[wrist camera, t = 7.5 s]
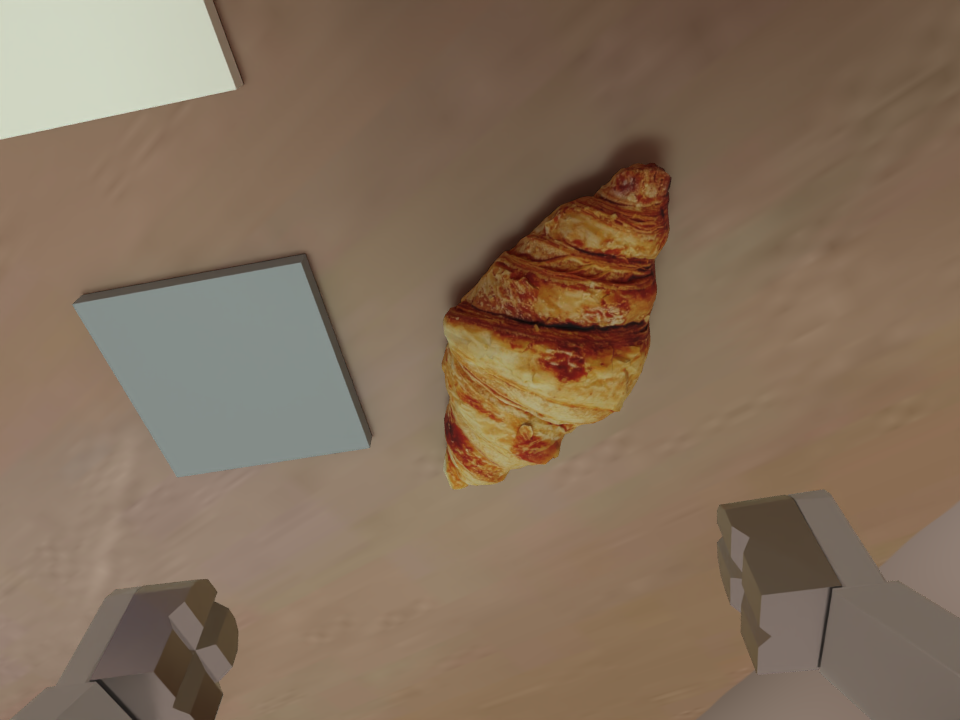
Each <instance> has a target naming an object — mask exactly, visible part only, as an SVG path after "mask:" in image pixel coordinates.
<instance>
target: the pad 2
mask: <svg viewBox="0 0 960 720" xmlns="http://www.w3.org/2000/svg"><path fill="white" fill-rule="evenodd" d="M72 305H73V307H74V308H75V310H76V312H77V313H78V315H79V316H80V318H81V320H82V321H83V323H84V325H85V326H86V328H87V330H88V331H89V333H90V335H91V336H92V338H93V340H94V341H95V343H96V344H97V346H98V348H99V349H100V351H101V353H102V354H103V356H104V358H105V359H106V361H107V363H108V364H109V366H110V368H111V369H112V371H113V372H114V374H115V376H116V377H117V379H118V381H119V382H120V384H121V386H122V387H123V389H124V391H125V392H126V394H127V396H128V397H129V399H130V400H131V402H132V404H133V405H134V407H135V409H136V410H137V412H138V414H139V415H140V417H141V419H142V420H143V422H144V424H145V425H146V427H147V428H148V430H149V432H150V433H151V435H152V437H153V438H154V440H155V442H156V443H157V445H158V447H159V448H160V450H161V452H162V453H163V455H164V456H165V458H166V460H167V461H168V463H169V465H170V466H171V468H172V470H173V471H174V473H175V475H176V476H177V477H183V476H189V475H196V474H203V473H209V472H216V471H222V470H229V469H235V468H242V467H248V466H255V465H261V464H268V463H274V462H281V461H287V460H294V459H300V458H307V457H313V456H320V455H327V454H333V453H340V452H346V451H353V450H359V449H366V448H370V445H371V440H372V435H371V432H370V430H369V427H368V424H367V421H366V419H365V416H364V413H363V410H362V408H361V405H360V402H359V400H358V397H357V394H356V391H355V389H354V386H353V383H352V380H351V378H350V375H349V372H348V369H347V367H346V364H345V361H344V358H343V356H342V353H341V350H340V347H339V345H338V342H337V339H336V337H335V334H334V331H333V328H332V326H331V323H330V320H329V317H328V315H327V312H326V309H325V306H324V304H323V301H322V298H321V295H320V293H319V290H318V287H317V285H316V282H315V279H314V276H313V274H312V271H311V268H310V265H309V263H308V260H307V257H306V254H302V255H297V256H292V257H286V258H281V259H275V260H270V261H264V262H259V263H254V264H248V265H243V266H237V267H232V268H227V269H221V270H216V271H210V272H205V273H199V274H194V275H189V276H183V277H178V278H172V279H167V280H161V281H156V282H151V283H145V284H140V285H134V286H129V287H124V288H118V289H113V290H107V291H102V292H96V293H91V294H86V295H82V296H81V297H80V298H79V299H77V300H76V301H75V302H74V303H73V304H72Z"/></svg>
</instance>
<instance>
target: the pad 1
mask: <svg viewBox="0 0 960 720" xmlns="http://www.w3.org/2000/svg"><path fill="white" fill-rule="evenodd" d="M241 86H243V82H242V79H241V76H240V74H239V71H238V68H237V65H236V63H235V60H234V57H233V55H232V52H231V49H230V46H229V44H228V41H227V38H226V35H225V33H224V30H223V27H222V24H221V22H220V19H219V16H218V13H217V11H216V8H215V5H214V3H213V0H0V139H5V138H10V137H14V136H19V135H24V134H29V133H33V132H38V131H43V130H47V129H52V128H57V127H62V126H66V125H71V124H76V123H80V122H85V121H90V120H95V119H99V118H104V117H109V116H113V115H118V114H123V113H128V112H132V111H137V110H142V109H147V108H151V107H156V106H161V105H165V104H170V103H175V102H180V101H184V100H189V99H194V98H198V97H203V96H208V95H213V94H217V93H222V92H227V91H231V90H236V89H238V88H239V87H241Z"/></svg>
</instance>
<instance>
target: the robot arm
mask: <svg viewBox="0 0 960 720" xmlns="http://www.w3.org/2000/svg"><path fill="white" fill-rule="evenodd" d="M717 524H718V526H719V529H720V531H721V534H722V537H721V539H720V540H719V541H718V542H717V555H718V563H719V569H720V574H721V578H722V582H723V585H724V588H725V591H726V594H727V597H728V600H729V602H730V605H731V606H733V607H734V608H735V609H737V610H738V611H739V612H740V613H741V634H742V637H743V640H744V642H745V645H746V647H747V650H748V653H749V655H750V658H751V660H752V663H753V665H754V668H755V671H756V673H757V675H761V674H773V673H785V672H796V671H808V670H819V669H820V673H821V674H822V675H823V676H824V677H825V678H826V679H827V680H828V681H829V682H830V683H832V684H833V685H834V686H835V687H836V688H837V689H838V690H839V691H840V692H841V693H842V694H844V695H845V696H846V697H847V698H848V699H849V700H850V701H851V702H852V703H854V704H855V705H856V706H857V707H858V708H859V709H860V710H861V711H862V712H863V713H865V714H866V715H867V716H868V717H869V718H870V719H871V720H960V618H959V617H957V616H955V615H954V614H952V613H951V612H949V611H947V610H946V609H944V608H942V607H941V606H939V605H937V604H936V603H934V602H932V601H931V600H929V599H927V598H926V597H924V596H923V595H921V594H919V593H918V592H916V591H914V590H913V589H911V588H909V587H908V586H906V585H904V584H903V583H901V582H899V581H890V582H889V581H888V582H887V581H886V580H885V578H884V577H883V575H882V574H881V573H880V570H879V569H878V567H877V566H876V564H875V563H874V561H873V560H872V558H871V556H870V555H869V553H868V552H867V550H866V549H865V547H864V545H863V544H862V542H861V541H860V539H859V538H858V536H857V534H856V533H855V531H854V530H853V528H852V527H851V525H850V524H849V522H848V520H847V519H846V517H845V516H844V514H843V513H842V511H841V509H840V508H839V506H838V505H837V503H836V502H835V500H834V498H833V497H832V495H831V494H830V493H828V492H827V491H826V490H817V491H810V492H803V493H796V494H789V495H780V496H773V497H767V498H760V499H754V500H747V501H741V502H734V503H728V504H721V505H719V507H718V510H717ZM216 594H217V591H216V589H215V588H214V587H213V585H212V584H211V583H210V581H209V580H208V579H200V580H190V581H181V582H173V583H164V584H155V585H146V586H140V587H132V588H124V589H116V590H114V591H113V592H112V593H111V594H109V595H108V596H107V597H106V598H105V599H104V601H103V603H102V605H101V606H100V608H99V610H98V612H97V614H96V615H95V617H94V619H93V621H92V622H91V624H90V626H89V628H88V629H87V631H86V633H85V635H84V637H83V638H82V640H81V642H80V644H79V645H78V647H77V649H76V651H75V652H74V654H73V656H72V658H71V660H70V661H69V663H68V665H67V667H66V668H65V670H64V672H63V674H62V676H61V677H60V679H59V681H58V683H57V684H56V686H53V687H47V688H45V689H44V690H43V691H42V692H41V693H40V694H39V695H37V696H36V697H35V698H34V699H33V700H32V701H31V702H29V703H28V704H27V705H26V706H25V707H24V708H23V709H22V710H20V711H19V712H18V713H17V714H16V715H15V716H14V717H12V718H11V719H10V720H215V717H216V714H217V711H218V708H219V705H220V703H221V700H222V697H223V692H222V690H221V687H220V684H219V681H220V680H221V679H222V678H223V677H224V676H225V675H226V673H227V672H228V671H229V670H230V669H231V668H232V667H233V663H234V660H235V657H236V654H237V650H238V628H237V624H236V620H235V618H234V616H233V614H232V613H231V611H230V610H229V609H228V608H227V607H225V606H223V605H221V604H219V603H217V602H215V601H214V600H215V597H216Z"/></svg>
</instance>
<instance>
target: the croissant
mask: <svg viewBox="0 0 960 720" xmlns="http://www.w3.org/2000/svg"><path fill="white" fill-rule="evenodd" d="M670 184H671V177H670V176H669V174H668V173H666V172H665V170H664V169H663V168H660V167H658V166H657V165H656V164H655V163H649V164H647V165H644V164H640V163H638V164H633V165H631V166H630V167H628V168H622V169H620V170H619V171H618V172H617V173H616V174H615V175H614V176H613V177H612V179H611V181H609V182H608V183H607V184H606V185H602V187H601V188H600V189H599V190H598V191H597V192H596V194H595V195H594V196H593V197H592V196H585V197H581V198H578V199H576V200H574V201H571V202H568V203H565V204H562V205H560V206H559V207H558V208H557V209H556V210H554V211H553V212H552V213H551V214H550V215H549V216H547V217H546V218H545V219H544V220H543V221H542V223H541V224H539V225H538V226H537V227H536V228H535V229H534V230H533V231H532V232H531V233H530V234H529V235H528V236H526V237H524V238H522V239H521V240H520V241H519V242H518V244H517V245H516V246H515V247H514V248H513V249H511V250H509V251H504V252H503V253H502V254H501V255H500V256H499V257H498V258H497V259H496V260H495V262H494V263H493V264H492V265H491V266H490V268H489V270H488V271H487V272H486V273H485V274H484V275H483V276H482V277H481V279H480V281H479V282H478V283H477V284H476V285H475V286H474V287H473V288H472V289H471V290H470V291H469V292H468V293H467V294H466V295H465V296H464V297H463V298H462V299H461V303H460V304H458V305H457V306H456V307H453V308H450V310H449V311H448V312H447V314H446V315H445V317H444V320H443V325H444V335H445V336H446V338H447V340H448V344H447V346H446V350H445V354H444V357H443V361H442V369H443V371H444V373H445V383H446V388H447V391H448V394H449V396H450V400H449V404H448V406H447V409H446V414H445V418H444V424H445V438H446V441H447V449H446V454H445V458H444V468H443V470H444V472H445V475H446V477H447V479H448V482H449V485H450V487H451V488H452V489H454V490H456V489H462V488H465V487H467V486H468V485H476V486H478V485H487V484H488V485H490V484H495V483H498V482H501V481H503V480H504V479H505V477H506V475H507V474H508V472H509V470H510V469H518V468H521V467H524V466H527V465H538V464H546V463H547V462H548V461H549V460H551V459H552V458H556V457H558V455H559V451H560V445H561V441H562V439H563V437H564V435H565V434H567V433H571V432H572V431H573V430H574V429H575V428H576V427H577V426H580V425H582V424H590V423H595V422H598V421H600V420H602V419H604V418H605V417H607V416H608V415H610V414H611V413H613V412H618V411H620V409H621V408H622V406H623V402H624V401H625V399H626V398H627V397H628V395H629V394H630V393H631V390H632V389H633V387H634V385H635V384H636V382H637V380H638V377H639V375H640V374H641V372H642V369H643V365H644V362H645V360H646V358H647V354H648V350H649V347H650V328H649V316H650V313H651V310H652V307H653V303H654V301H655V298H656V293H657V285H656V276H655V258H656V257H657V255H658V254H659V252H660V251H661V250H662V248H663V246H664V245H665V243H666V241H667V238H668V234H669V230H670V228H669V217H668V203H669V192H668V190H669V188H670Z"/></svg>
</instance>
